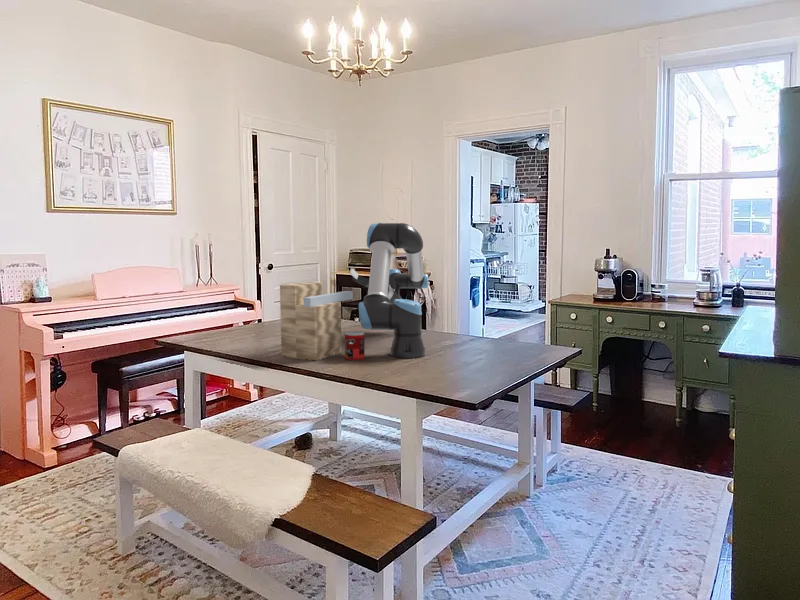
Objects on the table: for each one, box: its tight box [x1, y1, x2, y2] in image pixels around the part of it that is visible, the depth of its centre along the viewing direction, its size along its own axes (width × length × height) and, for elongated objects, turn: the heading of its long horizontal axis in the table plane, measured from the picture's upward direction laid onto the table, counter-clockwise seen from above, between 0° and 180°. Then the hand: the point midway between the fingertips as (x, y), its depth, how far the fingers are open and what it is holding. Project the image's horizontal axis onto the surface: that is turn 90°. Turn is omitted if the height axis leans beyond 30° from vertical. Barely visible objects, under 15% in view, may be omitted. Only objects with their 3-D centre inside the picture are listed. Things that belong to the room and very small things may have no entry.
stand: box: [279, 281, 343, 361], centre depth 253 cm, size 18×18×30 cm
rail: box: [303, 290, 354, 307], centre depth 255 cm, size 30×4×4 cm, turn 150°
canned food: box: [344, 330, 366, 361], centre depth 246 cm, size 8×8×11 cm
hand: (362, 271), depth 281 cm, fingers open, 13 cm apart
